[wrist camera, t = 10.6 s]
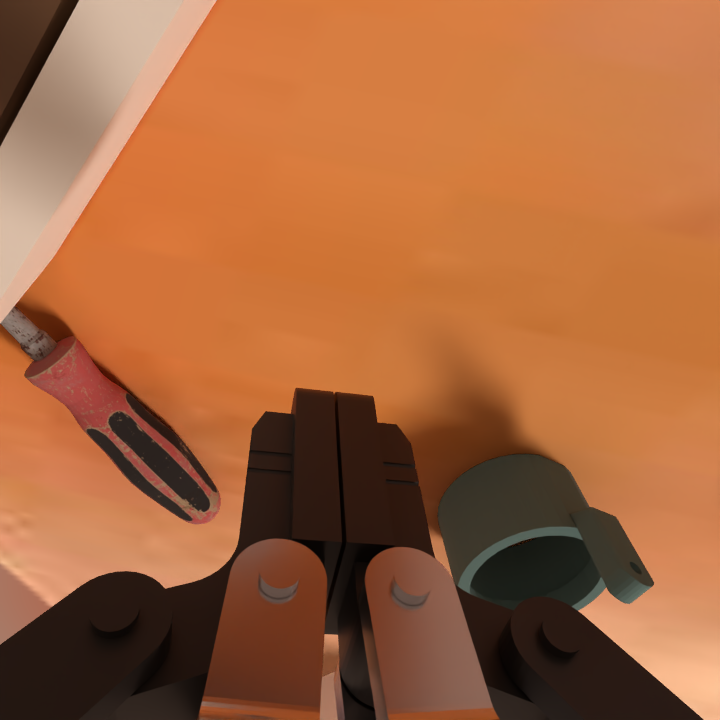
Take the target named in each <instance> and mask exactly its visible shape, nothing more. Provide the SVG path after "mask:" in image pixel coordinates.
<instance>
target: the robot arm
mask: <svg viewBox="0 0 720 720" xmlns="http://www.w3.org/2000/svg"><path fill="white" fill-rule="evenodd" d="M418 483H419V481H418V476H417V471H416V469H415V461H414V457H413V452H412V447H411V443H410V442H409V441H408V439H407V438H406V437H405V435H404V434H403V432H402V431H401V430H400V428H399V427H398V426H397V425H396V424H386V423H377V417H376V410H375V403H374V398H373V396H368V395H359V394H350V393H341V392H335V394H334V393H333V392H330V391H321V390H312V389H303V388H296V389H295V393H294V398H293V404H292V411H291V414H286V413H277V412H267V411H266V412H265V413H264V414H263V415H262V417H261V418H260V419H259V421H258V422H257V423H256V424H255V426H254V427H253V428H252V435H251V443H250V451H249V460H248V468H247V477H246V485H245V493H244V502H243V510H242V518H241V527H240V535H239V541H238V545H237V548H236V550H235V552H234V554H233V555H232V557H231V559H230V560H229V561H228V562H227V563H226V564H225V565H224V566H223V567H222V568H221V569H219V570H218V571H217V572H215V573H213V574H212V575H210V576H208V577H206V578H204V579H201V580H198V581H195V582H192V583H188V584H183V585H179V586H175V587H171V588H167V589H165V588H164V587H163V586H162V585H161V584H160V583H159V582H157V581H156V580H155V579H153V578H151V577H149V576H147V575H145V574H141V573H137V572H128V571H124V572H113V573H108V574H105V575H102V576H98V577H96V578H94V579H92V580H90V581H88V582H86V583H85V584H83V585H82V586H80V587H79V588H77V589H76V590H75V591H73V592H72V593H71V594H69V595H68V596H66V597H65V598H64V599H62V600H61V601H60V602H58V603H57V604H55V605H54V606H53V607H51V608H50V609H49V610H47V611H46V612H44V613H43V614H42V615H40V616H39V617H38V618H36V619H35V620H34V621H32V622H31V623H29V624H28V625H27V626H25V627H24V628H23V629H21V630H20V631H18V632H17V633H16V634H14V635H13V636H12V637H10V638H9V639H7V640H6V641H5V642H3V643H2V644H1V645H0V720H320V702H321V684H322V667H323V649H324V634H337V635H338V639H339V660H338V664H337V667H336V670H335V675H334V690H335V699H336V709H337V718H338V720H703V719H702V718H701V717H700V716H699V715H698V714H696V713H695V712H694V711H693V710H692V709H691V708H690V707H688V706H687V705H686V704H685V703H684V702H683V701H681V700H680V699H679V698H678V697H677V696H676V695H675V694H673V693H672V692H671V691H670V690H669V689H668V688H667V687H665V686H664V685H663V684H662V683H661V682H660V681H658V680H657V679H656V678H655V677H654V676H653V675H652V674H650V673H649V672H648V671H647V670H646V669H645V668H643V667H642V666H641V665H640V664H639V663H638V662H637V661H635V660H634V659H633V658H632V657H631V656H630V655H628V654H627V653H626V652H625V651H624V650H623V649H622V648H620V647H619V646H618V645H617V644H616V643H615V642H613V641H612V640H611V639H610V638H609V637H608V636H607V635H605V634H604V633H603V632H602V631H601V630H600V629H599V628H597V627H596V626H595V625H594V624H593V623H592V622H590V621H589V620H588V619H587V618H586V617H585V616H584V615H582V614H581V613H580V612H579V611H577V610H576V609H575V608H573V607H571V606H570V605H568V604H566V603H564V602H562V601H560V600H557V599H554V598H549V597H531V598H528V599H526V600H524V601H522V602H521V603H519V604H518V606H517V607H516V608H515V610H511V609H508V608H505V607H503V606H500V605H497V604H494V603H492V602H489V601H486V600H483V599H481V598H478V597H476V596H473V595H471V594H469V593H467V592H466V591H464V590H462V589H461V588H460V587H458V586H457V585H455V584H454V582H453V579H452V577H451V576H450V574H449V572H448V571H447V570H446V568H445V567H444V566H443V565H442V564H441V563H440V562H439V561H438V560H436V559H435V556H434V552H433V548H432V543H431V539H430V534H429V529H428V524H427V519H426V514H425V510H424V505H423V500H422V495H421V490H420V486H418Z"/></svg>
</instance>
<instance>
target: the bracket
mask: <svg viewBox="0 0 720 720" xmlns="http://www.w3.org/2000/svg"><path fill="white" fill-rule="evenodd" d="M438 522H439V527H440V530H441V534H442V538H443V542H444V546H445V550H446V554H447V557H448V561H449V565H450V569H451V573H452V577H453V581H454V584H455V585H457V586H458V587H460V588H461V589H462V590H464V591H466V592H467V593H469V594H471V595H473V596H476V597H478V598H481V599H483V600H486V601H489V602H492V603H494V604H497V605H500V606H503V607H505V608H508V609H511V610H515V608H516V607H517V606H518V604H519V603H521V602H522V601H524V600H526V599H528V598H531V597H549V598H554V599H557V600H560V601H562V602H564V603H566V604H568V605H570V606H571V607H573V608H575V609H576V610H577V611H578V610H580V609H582V608H583V607H585V606H586V605H588V604H589V603H590V602H592V601H593V600H594V599H595V598H597V597H598V596H599V595H600V594H601V593H602V592H603V590H604V589H605V588H606V587H607V589H608V591H609V592H610V593H611V594H612V595H613V596H614V597H615V598H617V599H618V600H620V601H621V602H624V603H627V604H630V603H632V602H633V601H634V600H636V599H637V598H638V597H639V596H641V595H642V594H643V593H644V592H646V591H647V590H648V589H649V588H651V587H652V586H653V585H654V582H653V580H652V578H651V576H650V575H649V573H648V571H647V570H646V568H645V566H644V564H643V563H642V561H641V559H640V557H639V556H638V554H637V552H636V551H635V549H634V547H633V545H632V544H631V542H630V540H629V538H628V537H627V535H626V533H625V532H624V530H623V528H622V526H621V525H620V523H619V521H618V519H617V518H616V517H615V516H613V515H610V514H608V513H605V512H603V511H600V510H598V509H595V508H593V507H589V505H588V503H587V501H586V500H585V498H584V496H583V494H582V492H581V490H580V489H579V487H578V485H577V483H576V481H575V479H574V478H573V476H572V474H571V472H570V471H569V470H568V469H567V468H566V467H565V466H563V465H561V464H558V463H556V462H554V461H551V460H549V459H547V458H545V457H542V456H540V455H533V454H513V455H507V456H501V457H497V458H494V459H491V460H488V461H485V462H483V463H481V464H479V465H476V466H474V467H473V468H471V469H469V470H468V471H466V472H465V473H463V474H462V475H461V476H460V477H458V478H457V479H456V480H455V481H454V482H453V483H452V484H451V485H450V486H449V487H448V489H447V490H446V492H445V493H444V495H443V497H442V498H441V501H440V504H439V507H438ZM535 537H537V538H535ZM531 538H535V539H533V540H531V541H529V542H526V543H524V544H521V545H517V546H513V547H508V546H510V545H513V544H515V543H518V542H520V541H523V540H527V539H531ZM506 547H508V548H506Z"/></svg>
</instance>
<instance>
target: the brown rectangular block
mask: <svg viewBox="0 0 720 720" xmlns="http://www.w3.org/2000/svg"><path fill="white" fill-rule="evenodd" d="M78 2H79V0H0V146H1V145H2V143H3V141H4V139H5V137H6V135H7V133H8V132H9V130H10V128H11V126H12V124H13V122H14V120H15V119H16V117H17V115H18V113H19V111H20V109H21V107H22V106H23V104H24V102H25V100H26V98H27V96H28V94H29V93H30V91H31V89H32V87H33V85H34V83H35V81H36V80H37V78H38V76H39V74H40V72H41V70H42V68H43V67H44V65H45V63H46V61H47V59H48V57H49V55H50V54H51V52H52V50H53V48H54V46H55V44H56V42H57V41H58V39H59V37H60V35H61V33H62V31H63V29H64V28H65V26H66V24H67V22H68V20H69V18H70V16H71V15H72V13H73V11H74V9H75V7H76V5H77V3H78Z"/></svg>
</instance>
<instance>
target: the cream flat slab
mask: <svg viewBox="0 0 720 720" xmlns="http://www.w3.org/2000/svg"><path fill="white" fill-rule="evenodd" d="M216 1H217V0H79V2H78V3H77V5H76V7H75V9H74V11H73V13H72V15H71V16H70V18H69V20H68V22H67V24H66V26H65V28H64V29H63V31H62V33H61V35H60V37H59V39H58V41H57V42H56V44H55V46H54V48H53V50H52V52H51V54H50V55H49V57H48V59H47V61H46V63H45V65H44V67H43V68H42V70H41V72H40V74H39V76H38V78H37V80H36V81H35V83H34V85H33V87H32V89H31V91H30V93H29V94H28V96H27V98H26V100H25V102H24V104H23V106H22V107H21V109H20V111H19V113H18V115H17V117H16V119H15V120H14V122H13V124H12V126H11V128H10V130H9V132H8V133H7V135H6V137H5V139H4V141H3V143H2V145H1V146H0V323H1V322H2V321H3V320H4V318H5V317H6V316H7V315H8V313H9V312H10V311H11V310H12V308H13V307H14V306H15V305H16V303H17V302H18V301H19V300H20V298H21V297H22V296H23V295H24V293H25V292H26V291H27V290H28V288H29V287H30V286H31V285H32V283H33V282H34V281H35V280H36V278H37V277H38V276H39V275H40V273H41V272H42V271H43V270H44V268H45V267H46V266H47V265H48V264H49V262H50V261H51V260H52V259H53V257H54V256H55V254H56V253H57V251H58V249H59V248H60V246H61V245H62V243H63V242H64V240H65V238H66V237H67V235H68V234H69V232H70V230H71V229H72V227H73V226H74V224H75V223H76V221H77V219H78V218H79V216H80V215H81V213H82V212H83V210H84V208H85V207H86V205H87V204H88V202H89V201H90V199H91V197H92V196H93V194H94V193H95V191H96V190H97V188H98V186H99V185H100V183H101V182H102V180H103V179H104V177H105V175H106V174H107V172H108V171H109V169H110V168H111V166H112V164H113V163H114V161H115V160H116V158H117V156H118V155H119V153H120V152H121V150H122V149H123V147H124V145H125V144H126V142H127V141H128V139H129V138H130V136H131V134H132V133H133V131H134V130H135V128H136V127H137V125H138V123H139V122H140V120H141V119H142V117H143V116H144V114H145V112H146V111H147V109H148V108H149V106H150V105H151V103H152V101H153V100H154V98H155V97H156V95H157V94H158V92H159V90H160V89H161V87H162V86H163V84H164V83H165V81H166V79H167V78H168V76H169V75H170V73H171V71H172V70H173V68H174V67H175V65H176V64H177V62H178V60H179V59H180V57H181V56H182V54H183V53H184V51H185V49H186V48H187V46H188V45H189V43H190V42H191V40H192V38H193V37H194V35H195V34H196V32H197V31H198V29H199V27H200V26H201V24H202V23H203V21H204V20H205V18H206V16H207V15H208V13H209V12H210V10H211V9H212V7H213V5H214V4H215V2H216Z"/></svg>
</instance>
